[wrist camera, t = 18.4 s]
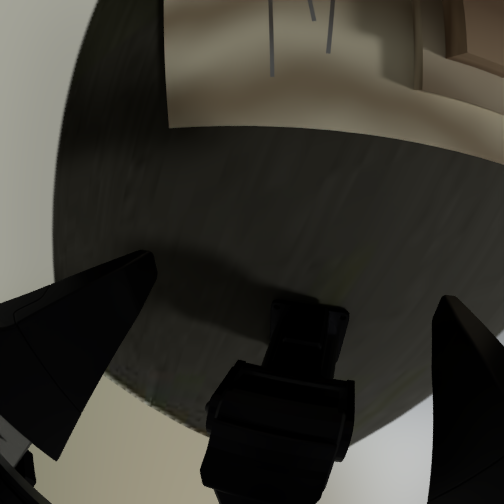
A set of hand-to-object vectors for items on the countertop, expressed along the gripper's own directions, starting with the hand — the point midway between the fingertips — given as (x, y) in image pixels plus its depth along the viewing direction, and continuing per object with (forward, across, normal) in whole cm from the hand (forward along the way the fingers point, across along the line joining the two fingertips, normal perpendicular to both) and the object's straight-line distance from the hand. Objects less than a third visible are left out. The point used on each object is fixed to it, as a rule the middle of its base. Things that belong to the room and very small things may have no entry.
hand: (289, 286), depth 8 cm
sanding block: (+10, -8, -11) cm, 17 cm away
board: (+12, -2, -11) cm, 16 cm away
